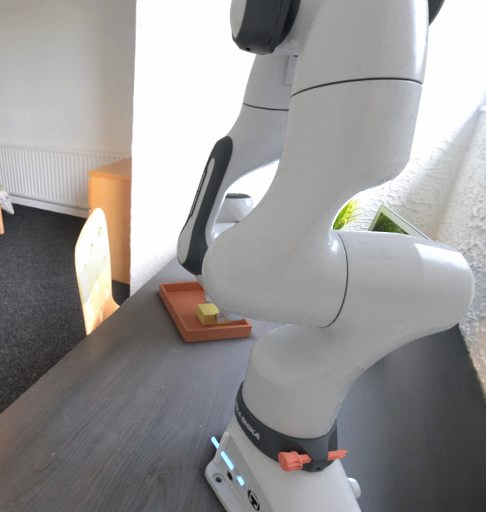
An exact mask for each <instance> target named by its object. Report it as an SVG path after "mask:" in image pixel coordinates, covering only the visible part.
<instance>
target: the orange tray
mask: <svg viewBox="0 0 486 512" xmlns="http://www.w3.org/2000/svg"><path fill="white" fill-rule="evenodd" d="M158 295H159V297H160V298H161V301H163V303H164V306H165V307H166V309H167V311H168V313H169V315H170V317H171V318H172V320H173V322H174V325H175V326H176V328H177V329H178V331H179V334H180V335H181V337H182V339H183V340H184V342H185V343H194V342H195V343H196V342H205V341H216V340H218V341H219V340H227V339H228V340H229V339H240V338H250V337H251V333H252V329H253V325H252V324H251V322H250V321H249V320H248V319H247V317H245V318H244V319H243V320H239V321H232V322H231V323H226V324H214V325H202V323H201V321H200V320H199V318H198V317H197V315H196V311H197V305H198V304H205V301H206V299H205V293H204V289H203V287H202V286H201V285H200V283H199V282H198V281H197V280H193V281H179V282H178V281H177V282H165V283H159V287H158Z"/></svg>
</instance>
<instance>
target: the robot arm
mask: <svg viewBox="0 0 486 512" xmlns="http://www.w3.org/2000/svg"><path fill="white" fill-rule="evenodd" d="M445 2H446V0H231V2H230V8H229V25H230V31H231V40H232V41H233V42H234V44H235V45H236V46H237V48H238V49H239V50H240V51H244V52H246V53H250V54H254V55H255V57H254V59H253V63H252V65H251V69H250V72H249V74H248V78H247V81H246V85H245V89H244V95H243V97H242V104H241V108H240V111H239V114H238V116H237V118H236V120H235V122H234V123H233V125H232V127H231V128H230V130H229V131H228V132H227V133H226V134H225V136H223V137H222V138H220V139H218V140H217V141H216V142H215V143H214V145H213V147H212V149H211V151H210V153H209V154H208V155H209V156H208V158H207V161H206V163H205V166H204V168H203V170H202V171H203V172H202V173H201V174H202V175H201V177H200V179H199V183H198V186H197V189H196V192H195V194H194V198H193V201H192V204H191V207H190V209H189V213H188V216H187V218H186V221H185V223H184V225H183V227H182V229H181V231H180V233H179V235H178V238H177V243H176V258H177V262H178V264H179V265H180V266H181V267H182V268H183V269H184V270H186V272H188V273H190V274H191V275H193V276H194V277H195V281H198V282H199V283H200V285H201V286H202V287H203V289H204V293H205V299H206V301H205V304H210V303H214V305H215V306H216V307H217V308H218V311H219V313H216V315H215V319H216V321H217V322H218V323H223V322H224V321H225V318H226V319H227V320H228V321H239V320H243V319H244V318H246V319H247V318H248V319H251V320H255V321H258V322H266V323H274V324H275V323H276V324H285V325H281V326H279V327H276V328H274V329H273V328H272V329H271V330H268V331H267V332H265V333H264V334H262V335H261V336H260V337H258V339H257V340H256V341H255V343H254V344H253V345H252V347H251V349H250V351H249V355H248V361H247V364H246V365H247V366H246V369H245V374H244V378H243V380H242V381H241V383H240V385H239V387H238V390H237V391H236V395H235V401H234V414H233V416H232V417H231V420H230V421H229V423H228V425H227V427H226V428H225V430H224V432H223V433H222V437H221V439H220V441H219V442H218V441H217V439H216V437H215V436H212V437H211V443H212V444H213V445H214V446H215V448H216V450H215V454H214V457H213V458H212V460H210V461H209V463H208V464H207V466H206V468H205V470H204V477H205V479H206V480H207V482H208V485H209V486H210V487H211V489H212V490H213V492H214V493H215V496H216V498H218V500H219V502H220V504H221V505H222V506H223V508H224V510H225V511H226V512H362V509H361V507H360V505H359V502H358V500H357V499H359V498H360V497H361V495H362V492H361V491H362V490H361V487H360V484H359V483H358V481H357V480H356V479H355V478H353V477H348V476H347V473H346V471H345V468H344V466H343V464H342V462H341V459H344V458H346V454H347V453H348V450H347V449H339V450H338V448H339V447H338V445H339V444H338V424H337V423H338V420H337V417H338V413H339V412H340V410H341V407H342V405H343V403H344V401H345V399H346V397H347V395H348V393H349V391H350V389H351V387H352V386H353V385H354V383H355V382H356V380H358V379H359V378H360V377H361V376H362V375H363V374H364V373H365V372H366V371H367V370H369V368H371V367H372V366H374V365H375V364H376V363H377V362H378V361H380V360H381V359H384V357H386V356H388V355H389V354H390V353H392V352H393V351H395V350H398V349H399V348H401V347H403V346H405V345H407V344H409V343H411V342H413V341H415V340H419V339H421V338H424V337H427V336H430V335H434V334H437V333H442V332H445V331H447V330H451V329H452V328H453V327H455V326H456V325H457V324H458V323H460V322H461V321H462V320H463V319H464V318H465V316H466V315H467V314H468V312H469V311H470V309H471V307H472V305H473V303H474V300H475V295H476V280H475V275H474V272H473V270H472V267H471V266H470V263H469V262H468V260H467V259H466V258H465V256H463V254H462V253H461V252H460V251H459V250H458V249H457V248H455V247H454V246H452V245H450V244H447V243H443V242H439V241H436V240H432V239H427V238H423V237H418V236H415V235H409V234H405V233H400V232H387V231H385V232H384V231H368V230H367V231H366V230H365V231H364V230H347V229H346V230H345V229H333V226H334V224H335V221H336V219H337V217H338V215H339V213H340V212H341V210H342V209H343V208H344V207H345V206H346V205H348V203H350V202H351V200H354V199H357V198H359V197H362V196H364V195H368V194H370V193H373V192H376V191H377V190H379V189H381V188H383V187H385V186H387V185H388V184H390V183H391V182H393V181H395V179H397V177H398V176H400V175H401V173H402V172H403V171H404V170H405V169H406V167H407V165H408V163H409V162H410V159H411V153H412V148H413V143H414V137H415V132H416V126H417V121H418V114H419V109H420V105H421V98H422V93H423V89H424V88H423V87H424V81H425V76H426V69H427V60H428V50H429V31H430V30H429V29H430V26H431V25H432V24H433V22H434V21H435V19H437V17H438V15H439V13H440V11H441V9H442V8H443V6H444V3H445ZM277 163H278V165H277V168H276V171H275V173H274V176H273V178H272V181H271V182H270V185H269V187H268V188H267V190H266V192H265V193H264V195H263V196H262V198H261V199H260V200H259V202H258V203H257V204H256V205H254V199H253V197H252V196H251V195H249V194H246V193H241V192H239V193H234V192H232V193H231V192H230V193H229V192H228V191H229V190H230V189H231V187H233V185H234V184H235V183H236V182H238V181H239V180H240V179H242V178H244V177H245V176H247V175H249V174H251V173H254V172H256V171H258V170H261V169H263V168H266V167H269V166H271V165H275V164H277Z"/></svg>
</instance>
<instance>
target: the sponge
mask: <svg viewBox="0 0 486 512" xmlns="http://www.w3.org/2000/svg"><path fill="white" fill-rule="evenodd" d="M216 313H219V311H218V308H217V307H216V306H215V305H214V303H210V304H198V305H197V311H196V315H197V317H198V318H199V320H200V321H201V323H202V325H214V324H226V323H231V322H232V321H228V320H227V319H226V318H225V321H224V322H223V323H218V322H217V321H216V319H215V315H216Z"/></svg>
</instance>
